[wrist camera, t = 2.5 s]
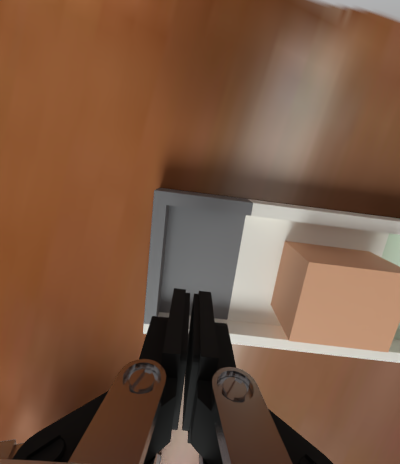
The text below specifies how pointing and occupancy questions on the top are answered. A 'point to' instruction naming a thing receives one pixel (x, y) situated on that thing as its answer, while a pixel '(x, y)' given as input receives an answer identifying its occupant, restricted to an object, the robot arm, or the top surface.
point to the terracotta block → (337, 297)
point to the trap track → (250, 259)
